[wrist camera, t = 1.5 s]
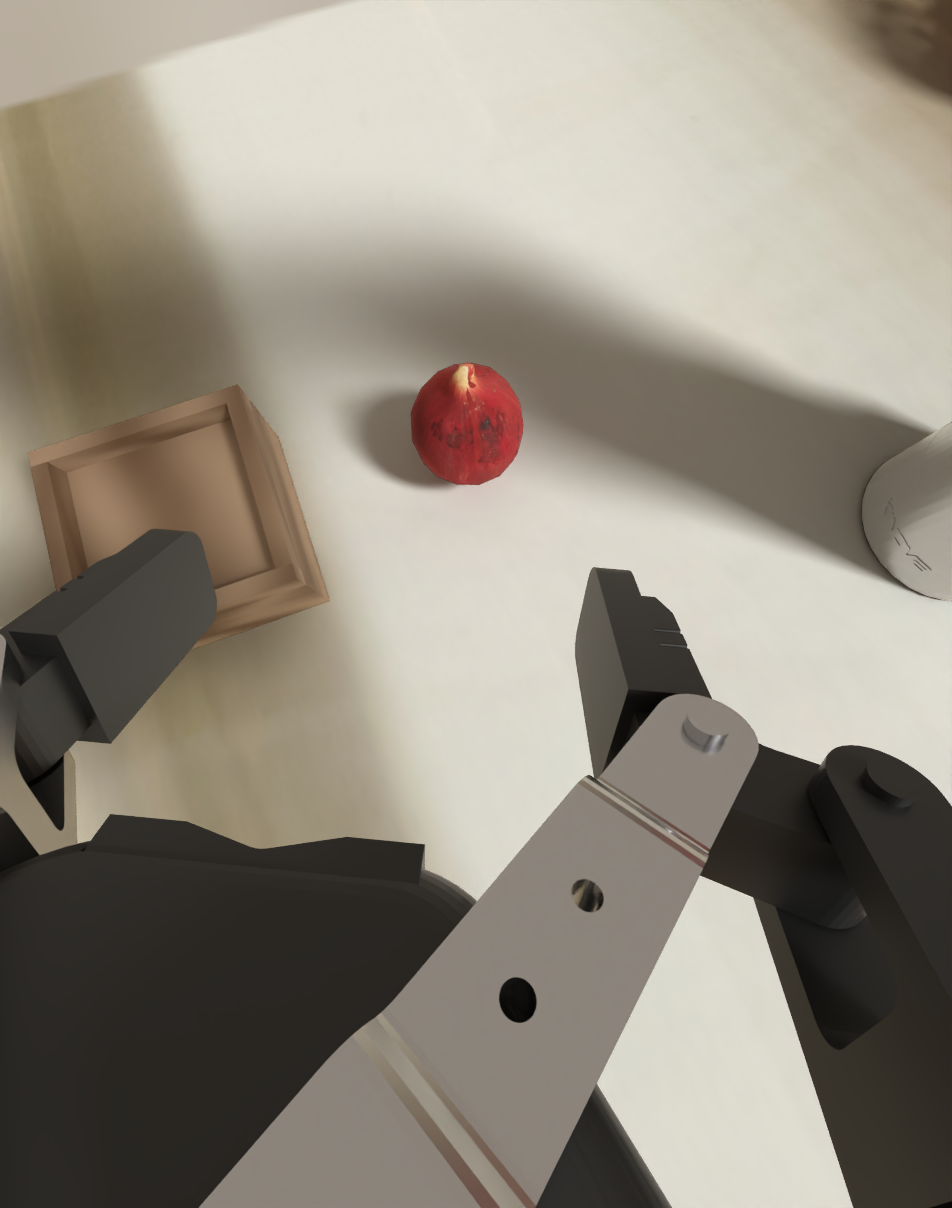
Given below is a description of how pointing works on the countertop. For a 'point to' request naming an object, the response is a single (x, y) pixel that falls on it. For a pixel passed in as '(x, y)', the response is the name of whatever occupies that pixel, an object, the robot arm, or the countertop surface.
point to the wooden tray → (186, 504)
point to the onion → (467, 424)
